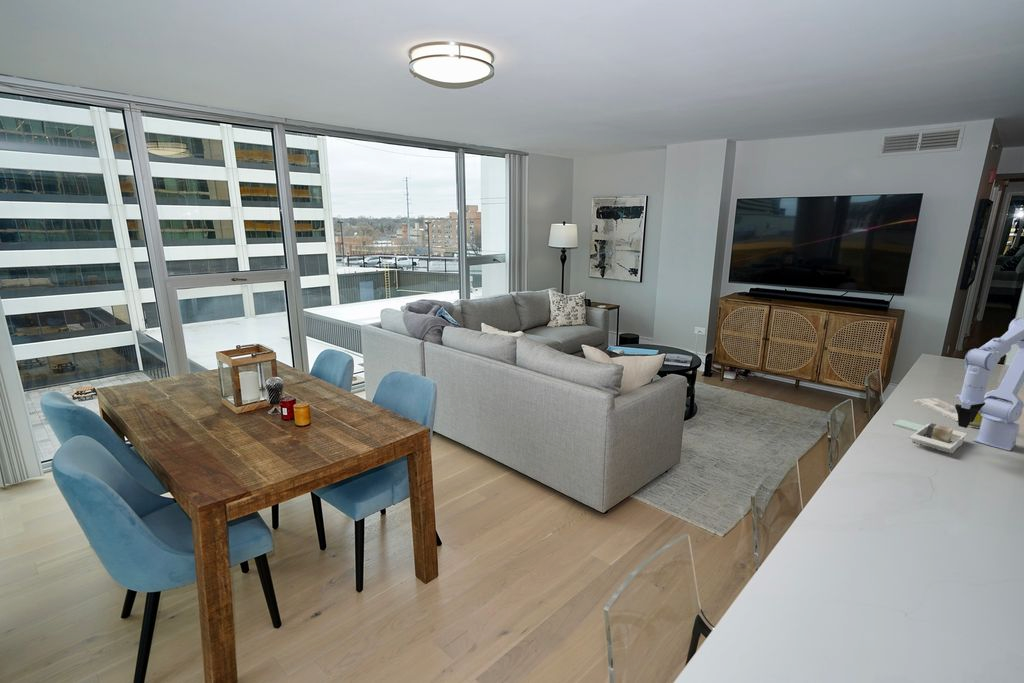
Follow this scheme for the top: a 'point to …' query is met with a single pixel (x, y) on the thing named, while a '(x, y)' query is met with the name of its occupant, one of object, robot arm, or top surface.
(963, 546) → the top surface
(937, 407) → the newspaper
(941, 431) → the block
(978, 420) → the supplement bottle
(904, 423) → the tile
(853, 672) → the top surface
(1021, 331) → the robot arm
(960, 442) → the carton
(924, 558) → the top surface
